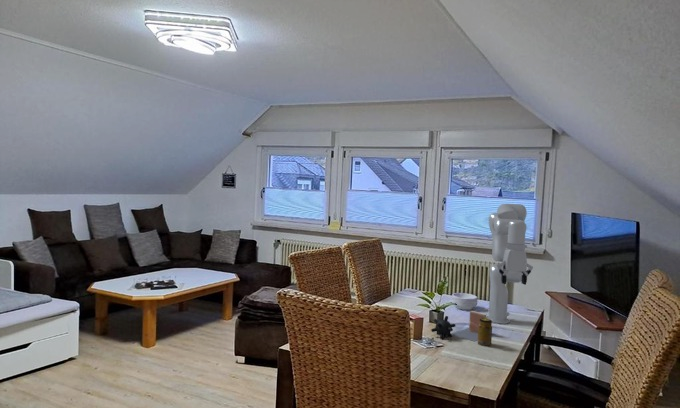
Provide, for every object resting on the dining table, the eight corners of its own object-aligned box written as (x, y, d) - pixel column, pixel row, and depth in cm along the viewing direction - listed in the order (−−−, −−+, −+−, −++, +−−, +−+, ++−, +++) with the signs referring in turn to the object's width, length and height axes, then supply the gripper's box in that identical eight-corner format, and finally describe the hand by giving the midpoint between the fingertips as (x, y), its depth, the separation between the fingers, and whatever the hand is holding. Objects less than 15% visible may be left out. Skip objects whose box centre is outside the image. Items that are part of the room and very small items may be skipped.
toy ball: (427, 325, 228) (451, 320, 229) (434, 345, 221) (458, 339, 222) (428, 315, 221) (452, 309, 221) (435, 335, 213) (460, 329, 214)
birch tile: (471, 330, 233) (472, 310, 233) (485, 334, 227) (486, 314, 227) (468, 331, 232) (469, 311, 231) (483, 335, 226) (484, 315, 225)
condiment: (484, 342, 216) (486, 316, 216) (498, 348, 209) (499, 321, 208) (472, 343, 213) (474, 318, 213) (486, 349, 206) (487, 323, 205)
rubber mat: (471, 328, 239) (471, 327, 239) (496, 335, 228) (496, 334, 228) (448, 334, 225) (448, 334, 225) (474, 342, 215) (474, 341, 215)
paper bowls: (473, 313, 270) (474, 299, 270) (448, 308, 278) (448, 295, 278) (479, 308, 283) (480, 295, 283) (455, 304, 291) (456, 291, 291)
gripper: (529, 246, 219) (527, 282, 219) (494, 245, 217) (492, 281, 218) (537, 249, 211) (535, 285, 212) (501, 247, 210) (499, 285, 210)
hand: (513, 283), depth 215 cm, fingers open, 9 cm apart
